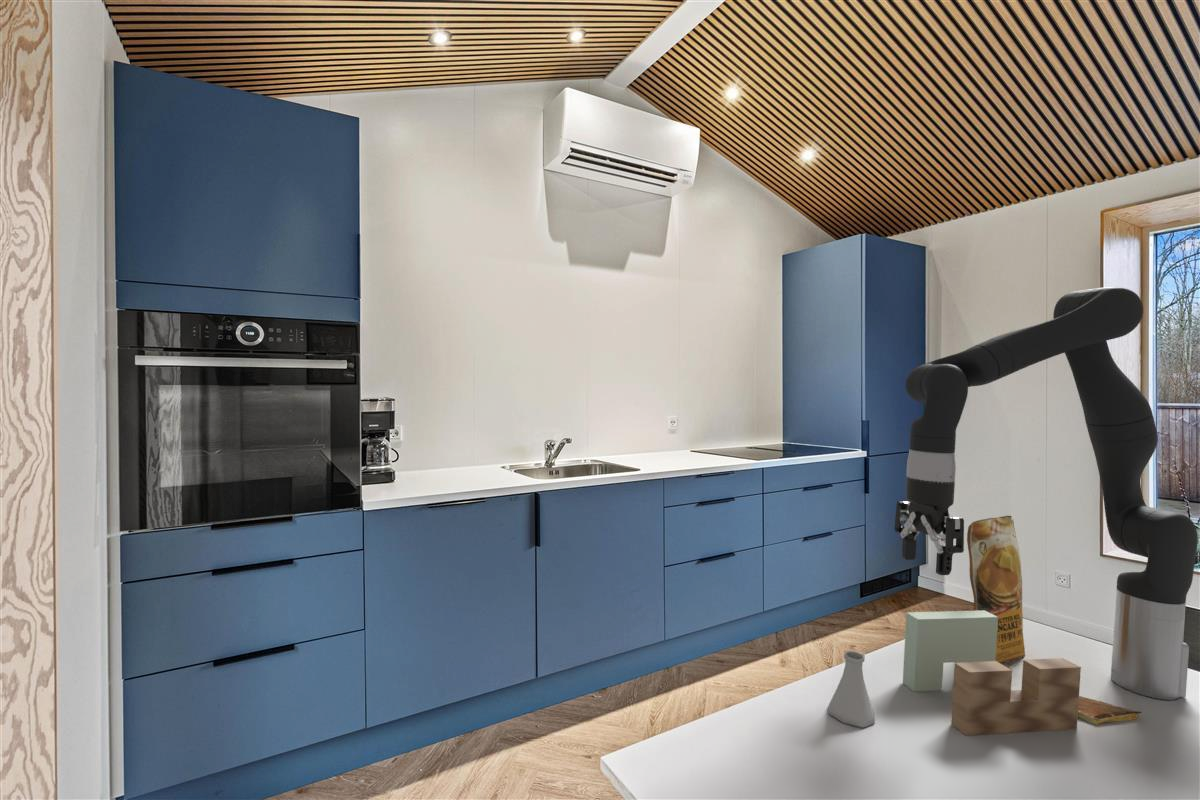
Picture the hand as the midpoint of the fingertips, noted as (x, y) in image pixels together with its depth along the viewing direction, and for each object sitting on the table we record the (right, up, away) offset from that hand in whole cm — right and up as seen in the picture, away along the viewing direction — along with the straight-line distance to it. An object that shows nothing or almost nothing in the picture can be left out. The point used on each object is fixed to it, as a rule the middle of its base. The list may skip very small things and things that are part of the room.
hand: (925, 566), depth 102 cm
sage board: (+5, -22, +2) cm, 23 cm away
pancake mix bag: (+22, -23, +15) cm, 35 cm away
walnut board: (+8, -23, -11) cm, 26 cm away
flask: (-17, -22, -9) cm, 29 cm away
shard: (+25, -24, -5) cm, 35 cm away
